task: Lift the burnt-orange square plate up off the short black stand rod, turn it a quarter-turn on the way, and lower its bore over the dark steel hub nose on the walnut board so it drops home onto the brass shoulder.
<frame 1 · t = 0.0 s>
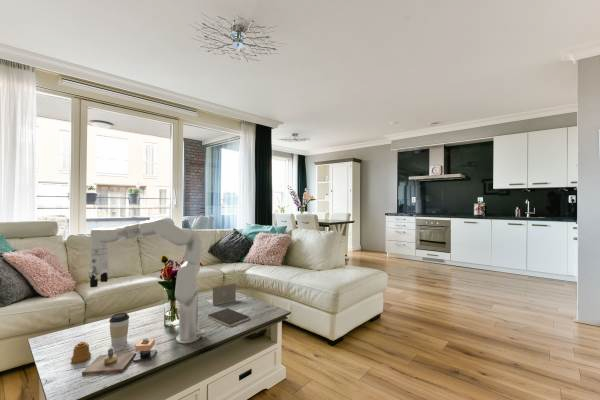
hand: (99, 284, 151), 31 cm above the table, tool pointing down, fingers open, 9 cm apart
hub: (110, 365, 131), on the table
coffee cup: (119, 343, 152), on the table
ornamental finial: (81, 360, 135), on the table
laptop: (221, 301, 218), on the table
stand: (145, 357, 138), on the table
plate: (145, 347, 138), point 4 cm above the table, touching stand
hardcover book: (228, 319, 184), on the table
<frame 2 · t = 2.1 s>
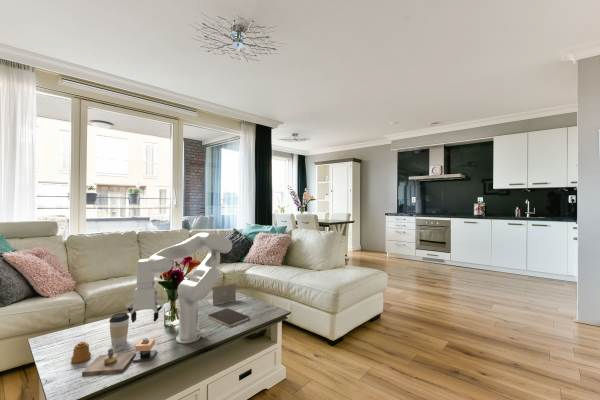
hand: (144, 320, 138), 17 cm above the table, tool pointing down, fingers open, 9 cm apart
nothing on the table moved.
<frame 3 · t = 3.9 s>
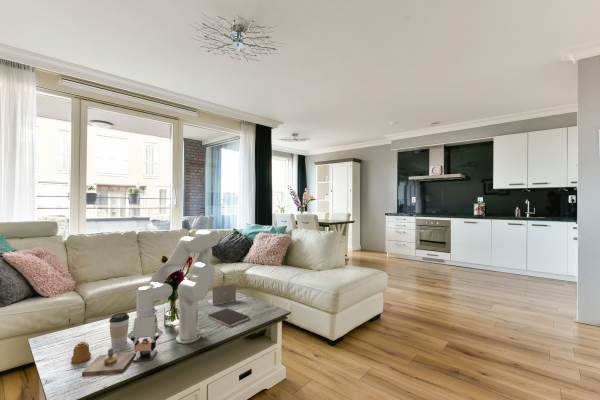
hand: (145, 349, 138), 3 cm above the table, tool pointing down, fingers closed on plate, 6 cm apart
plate: (145, 347, 138), point 4 cm above the table, touching gripper, stand
everything else where it was.
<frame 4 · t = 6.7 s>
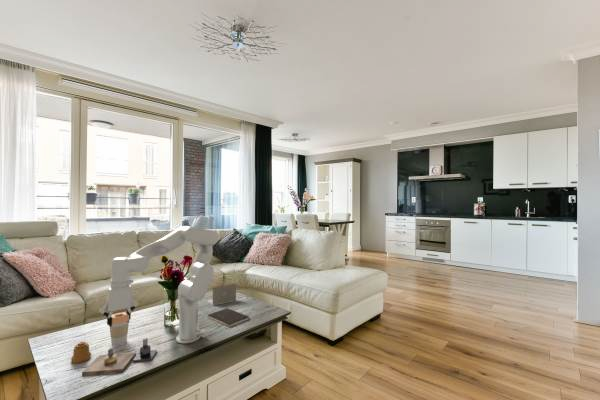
hand: (118, 323, 132), 18 cm above the table, tool pointing down, fingers closed on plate, 6 cm apart
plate: (119, 320, 132), point 20 cm above the table, touching gripper
everything else where it was.
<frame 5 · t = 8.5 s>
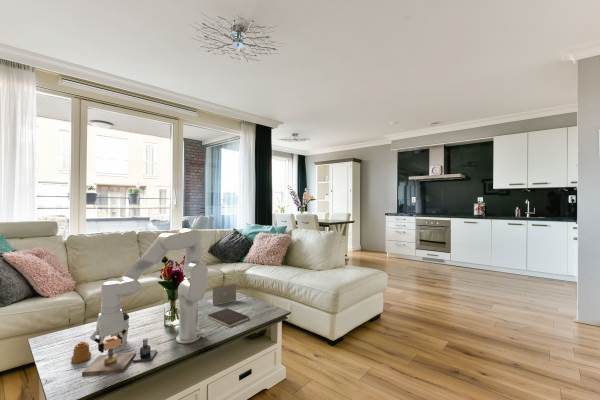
hand: (110, 348, 131), 8 cm above the table, tool pointing down, fingers closed on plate, 6 cm apart
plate: (110, 345, 131), point 9 cm above the table, touching gripper
everything else where it was.
when the fingers open (3 cm above the table, at t = 9.9 s): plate stays where it is, resting on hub.
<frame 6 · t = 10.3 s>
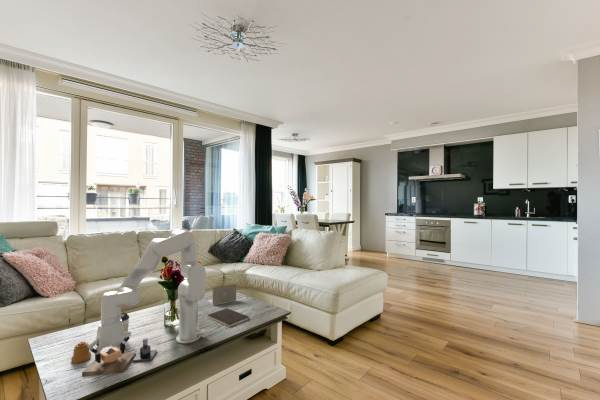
hand: (110, 357, 131), 4 cm above the table, tool pointing down, fingers open, 9 cm apart
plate: (110, 357, 131), point 3 cm above the table, touching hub
everything else where it was.
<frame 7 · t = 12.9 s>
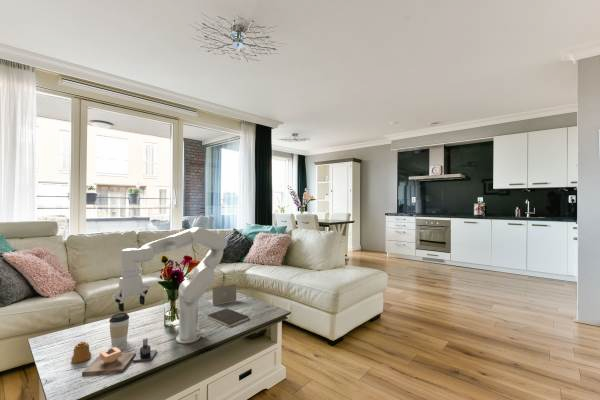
hand: (132, 307, 143), 22 cm above the table, tool pointing down, fingers open, 9 cm apart
nothing on the table moved.
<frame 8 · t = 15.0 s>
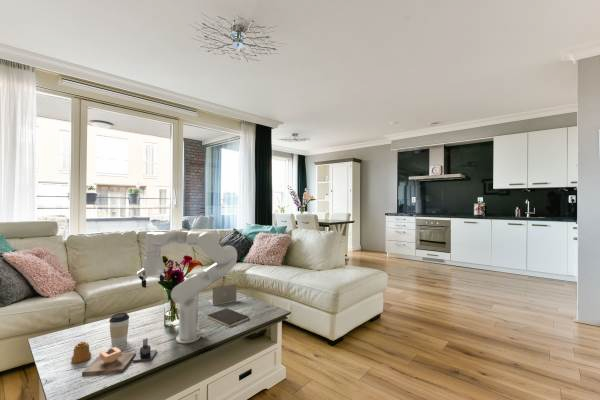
hand: (153, 285, 159), 28 cm above the table, tool pointing down, fingers open, 9 cm apart
at the end: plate 0.0 cm off-centre on the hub, point 3.5 cm above the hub's base; the gripper is holding nothing; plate tilted 0° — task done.
